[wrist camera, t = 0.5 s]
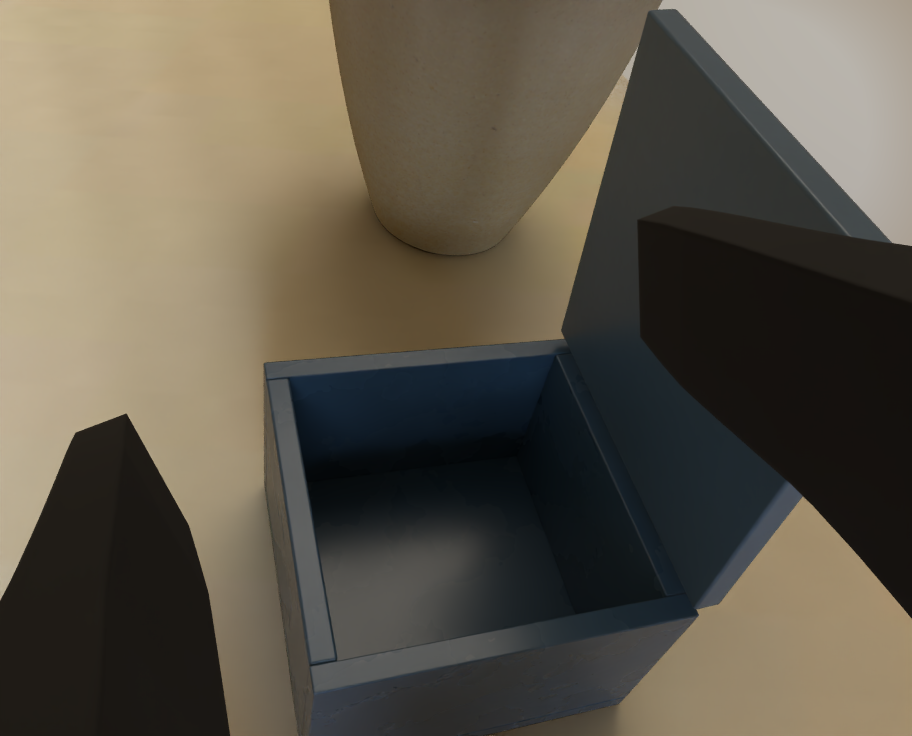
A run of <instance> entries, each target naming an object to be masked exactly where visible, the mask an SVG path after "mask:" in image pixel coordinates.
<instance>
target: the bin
mask: <svg viewBox="0 0 912 736" xmlns="http://www.w3.org/2000/svg"><path fill="white" fill-rule="evenodd" d="M264 485H265V492H266V500H267V507H268V515H269V522H270V529H271V537H272V544H273V552H274V559H275V567H276V574H277V582H278V589H279V597H280V604H281V612H282V619H283V627H284V634H285V642H286V649H287V657H288V664H289V672H290V679H291V686H292V694H293V701H294V709H295V716H296V724H297V731H298V736H485V735H489V734H493V733H497V732H502V731H506V730H510V729H514V728H519V727H523V726H527V725H531V724H536V723H540V722H544V721H548V720H553V719H557V718H561V717H565V716H570V715H574V714H578V713H582V712H587V711H591V710H595V709H599V708H604V707H608V706H612V705H616V704H619V703H620V702H621V701H622V700H623V699H624V698H625V697H626V696H627V695H628V694H629V693H630V692H631V691H632V689H633V688H634V687H635V686H636V685H637V684H638V683H639V682H640V681H641V679H642V678H643V677H644V676H645V675H646V674H647V673H648V672H649V671H650V669H651V668H652V667H653V666H654V665H655V664H656V663H657V662H658V661H659V659H660V658H661V657H662V656H663V655H664V654H665V653H666V652H667V651H668V649H669V648H670V647H671V646H672V645H673V644H674V643H675V642H676V641H677V639H678V638H679V637H680V636H681V635H682V634H683V633H684V632H685V631H686V629H687V628H688V627H689V626H690V625H691V624H692V623H693V622H694V621H695V619H696V618H697V617H698V616H699V614H698V612H697V610H696V609H694V608H693V606H692V604H691V602H690V600H689V598H688V596H687V594H686V592H685V589H684V587H683V585H682V583H681V581H680V579H679V577H678V575H677V573H676V571H675V568H674V566H673V564H672V562H671V560H670V558H669V556H668V554H667V552H666V550H665V548H664V545H663V543H662V541H661V539H660V537H659V535H658V533H657V531H656V529H655V527H654V524H653V522H652V520H651V518H650V516H649V514H648V512H647V510H646V508H645V506H644V504H643V501H642V499H641V497H640V495H639V493H638V491H637V489H636V487H635V485H634V483H633V480H632V478H631V476H630V474H629V472H628V470H627V468H626V466H625V464H624V462H623V460H622V457H621V455H620V453H619V451H618V449H617V447H616V445H615V443H614V441H613V439H612V436H611V434H610V432H609V430H608V428H607V426H606V424H605V422H604V420H603V418H602V416H601V413H600V411H599V409H598V407H597V405H596V403H595V401H594V399H593V397H592V395H591V392H590V390H589V388H588V386H587V384H586V382H585V380H584V378H583V376H582V374H581V372H580V369H579V367H578V365H577V363H576V361H575V359H574V357H573V355H572V353H571V351H570V348H569V346H568V344H567V342H566V340H565V339H559V340H546V341H533V342H520V343H508V344H495V345H482V346H470V347H457V348H444V349H432V350H419V351H406V352H394V353H381V354H368V355H356V356H343V357H330V358H317V359H305V360H292V361H279V362H267V363H264Z"/></svg>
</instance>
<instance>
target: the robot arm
mask: <svg viewBox="0 0 912 736" xmlns="http://www.w3.org/2000/svg"><path fill="white" fill-rule="evenodd" d="M637 232H638V271H639V311H640V337H641V339H642V340H643V341H644V342H645V344H646V345H647V346H648V347H649V349H650V350H651V351H652V352H653V354H654V355H655V356H656V357H657V359H658V360H659V361H660V362H661V364H662V365H663V366H664V367H665V368H666V370H667V371H668V372H669V373H670V374H671V375H672V376H673V378H674V379H675V380H676V381H677V382H678V383H679V384H680V386H681V387H683V388H684V389H685V390H686V391H687V392H688V393H689V394H690V395H691V396H692V397H693V398H694V399H695V400H697V401H698V402H699V403H700V404H701V405H702V406H703V407H704V408H705V409H707V410H708V411H709V412H710V413H711V414H712V415H713V416H714V417H715V418H716V419H718V420H719V421H720V422H721V423H722V424H723V425H724V426H725V427H727V428H728V429H729V430H730V431H731V432H732V433H733V434H735V435H736V436H737V437H738V438H739V439H740V440H741V441H742V442H744V443H745V444H746V445H747V446H748V447H749V448H750V449H751V450H753V451H754V452H755V453H756V454H757V455H758V456H759V457H761V458H762V459H763V460H764V461H765V462H766V463H767V464H768V465H770V466H771V467H772V468H773V469H774V470H775V471H776V472H778V473H779V474H780V475H781V476H782V477H783V478H784V479H785V480H787V481H788V482H789V483H790V484H791V485H792V486H793V487H794V488H795V489H796V490H797V491H798V492H799V493H800V494H801V495H802V496H803V497H804V498H805V499H806V500H807V501H809V502H810V503H811V504H812V505H813V506H814V507H815V509H816V510H817V511H818V512H819V513H820V514H821V515H822V516H823V517H824V518H825V519H826V521H827V522H828V523H829V524H830V525H831V526H832V527H833V528H834V529H835V530H836V532H837V533H838V534H839V535H840V536H841V537H842V538H843V539H844V540H845V541H846V543H847V544H848V545H849V546H850V547H851V548H852V549H853V550H854V551H855V552H856V554H857V555H858V556H859V557H860V558H861V559H862V560H863V562H864V563H865V564H866V565H867V566H868V567H869V569H870V570H871V571H872V572H873V573H874V575H875V576H876V577H877V578H878V579H879V580H880V582H881V583H882V584H883V585H884V586H885V587H886V589H887V590H888V591H889V592H890V593H891V594H892V596H893V597H894V598H895V599H896V600H897V602H898V603H899V604H900V605H901V606H902V607H903V609H904V610H905V611H906V612H907V613H908V615H909V616H910V617H911V618H912V246H908V245H901V244H894V243H887V242H881V241H874V240H867V239H861V238H856V237H850V236H844V235H838V234H833V233H828V232H822V231H817V230H812V229H806V228H801V227H796V226H791V225H786V224H781V223H776V222H771V221H766V220H761V219H755V218H750V217H745V216H740V215H735V214H729V213H724V212H718V211H712V210H706V209H699V208H692V207H682V206H672V207H670V208H667V209H664V210H662V211H659V212H656V213H654V214H651V215H648V216H646V217H643V218H641V219H638V220H637ZM0 736H230V731H229V725H228V718H227V711H226V704H225V698H224V691H223V684H222V678H221V671H220V664H219V657H218V651H217V644H216V638H215V631H214V625H213V618H212V612H211V605H210V599H209V593H208V590H207V586H206V583H205V579H204V575H203V572H202V568H201V565H200V561H199V558H198V555H197V551H196V548H195V544H194V541H193V538H192V534H191V531H190V528H189V525H188V523H187V521H186V520H185V518H184V516H183V514H182V512H181V511H180V509H179V507H178V505H177V503H176V502H175V500H174V498H173V496H172V494H171V493H170V491H169V489H168V487H167V485H166V484H165V482H164V480H163V478H162V476H161V475H160V473H159V471H158V469H157V467H156V466H155V464H154V462H153V460H152V458H151V457H150V455H149V453H148V451H147V449H146V448H145V446H144V444H143V442H142V440H141V439H140V437H139V435H138V433H137V431H136V430H135V428H134V426H133V424H132V422H131V421H130V419H129V417H128V415H127V413H126V414H124V415H121V416H119V417H116V418H113V419H111V420H108V421H105V422H103V423H100V424H97V425H95V426H92V427H90V428H87V429H84V430H82V431H79V432H76V433H75V435H74V437H73V439H72V441H71V443H70V445H69V447H68V450H67V452H66V454H65V457H64V459H63V462H62V464H61V467H60V469H59V472H58V474H57V476H56V479H55V481H54V484H53V486H52V489H51V491H50V494H49V496H48V498H47V501H46V503H45V505H44V508H43V510H42V513H41V515H40V517H39V520H38V522H37V524H36V526H35V529H34V531H33V533H32V535H31V537H30V540H29V542H28V544H27V546H26V548H25V551H24V553H23V555H22V557H21V559H20V562H19V564H18V566H17V568H16V570H15V572H14V575H13V577H12V579H11V581H10V583H9V585H8V587H7V589H6V591H5V593H4V595H3V596H2V598H1V600H0Z"/></svg>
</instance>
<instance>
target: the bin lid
mask: <svg viewBox="0 0 912 736" xmlns="http://www.w3.org/2000/svg"><path fill="white" fill-rule="evenodd" d="M672 206H682V207H692V208H699V209H706V210H712V211H718V212H724V213H729V214H735V215H740V216H745V217H750V218H755V219H761V220H766V221H771V222H776V223H781V224H786V225H791V226H796V227H801V228H806V229H812V230H817V231H822V232H828V233H833V234H838V235H844V236H850V237H856V238H861V239H867V240H874V241H881V242H887V243H892V242H891V241H890V240H889V239H888V238H887V237H886V236H885V235H884V234H883V233H882V232H881V230H880V229H879V228H878V227H877V226H876V225H875V224H874V223H873V222H872V221H871V220H870V218H869V217H868V216H867V215H866V214H865V213H864V212H863V211H862V210H861V209H860V208H859V207H858V205H857V204H856V203H855V202H854V201H853V200H852V199H851V198H850V197H849V196H848V195H847V193H846V192H844V190H843V189H842V188H841V187H840V186H839V185H838V184H837V183H836V182H835V180H834V179H833V178H832V177H831V176H830V175H829V174H828V173H827V172H826V171H825V170H824V169H823V168H822V166H821V165H820V164H819V163H818V162H817V161H816V160H815V159H814V158H813V157H812V156H811V155H810V154H809V152H807V150H806V149H805V148H804V147H803V146H802V145H801V144H800V143H799V142H798V140H797V139H796V138H795V137H794V136H793V135H792V134H791V133H790V132H789V131H788V130H787V129H786V127H785V126H784V125H783V124H782V123H781V122H780V121H779V120H778V119H777V118H776V117H775V116H774V114H773V113H772V112H771V111H770V110H769V109H768V108H767V107H766V106H765V105H764V104H763V103H762V101H761V100H760V99H759V98H758V97H757V96H756V95H755V94H754V93H753V92H752V91H751V90H750V88H749V87H748V86H747V85H746V84H745V83H744V82H743V81H742V80H741V79H740V78H739V77H738V75H737V74H736V73H735V72H734V71H733V70H732V69H731V68H730V67H729V66H728V65H727V64H726V63H725V61H724V60H723V59H722V58H721V57H720V56H719V55H718V54H717V53H716V52H715V51H714V50H713V48H712V47H711V46H710V45H709V44H708V43H707V42H706V41H705V40H704V39H703V38H702V37H701V35H700V34H699V33H698V32H697V31H696V30H695V29H694V28H693V27H692V26H691V25H690V24H689V23H688V21H687V20H686V19H685V18H684V17H683V16H682V15H681V14H680V13H679V12H678V11H677V10H675V9H666V10H650V11H648V13H647V17H646V21H645V24H644V28H643V32H642V35H641V39H640V43H639V46H638V50H637V54H636V57H635V61H634V65H633V68H632V72H631V76H630V79H629V83H628V87H627V90H626V94H625V98H624V101H623V105H622V109H621V112H620V116H619V120H618V123H617V127H616V131H615V134H614V138H613V142H612V145H611V149H610V153H609V156H608V160H607V164H606V167H605V171H604V175H603V178H602V182H601V186H600V189H599V193H598V197H597V200H596V204H595V208H594V211H593V215H592V219H591V222H590V226H589V230H588V233H587V237H586V241H585V244H584V248H583V252H582V255H581V259H580V263H579V266H578V270H577V274H576V277H575V281H574V285H573V288H572V292H571V296H570V299H569V303H568V307H567V310H566V314H565V318H564V321H563V325H562V329H561V332H562V334H563V336H564V338H565V340H566V342H567V344H568V346H569V348H570V351H571V353H572V355H573V357H574V359H575V361H576V363H577V365H578V367H579V369H580V372H581V374H582V376H583V378H584V380H585V382H586V384H587V386H588V388H589V390H590V392H591V395H592V397H593V399H594V401H595V403H596V405H597V407H598V409H599V411H600V413H601V416H602V418H603V420H604V422H605V424H606V426H607V428H608V430H609V432H610V434H611V436H612V439H613V441H614V443H615V445H616V447H617V449H618V451H619V453H620V455H621V457H622V460H623V462H624V464H625V466H626V468H627V470H628V472H629V474H630V476H631V478H632V480H633V483H634V485H635V487H636V489H637V491H638V493H639V495H640V497H641V499H642V501H643V504H644V506H645V508H646V510H647V512H648V514H649V516H650V518H651V520H652V522H653V524H654V527H655V529H656V531H657V533H658V535H659V537H660V539H661V541H662V543H663V545H664V548H665V550H666V552H667V554H668V556H669V558H670V560H671V562H672V564H673V566H674V568H675V571H676V573H677V575H678V577H679V579H680V581H681V583H682V585H683V587H684V589H685V592H686V594H687V596H688V598H689V600H690V602H691V604H692V606H693V608H694V609H700V608H704V607H709V606H713V605H717V604H719V603H720V602H721V601H722V599H723V598H724V597H725V596H726V594H727V593H728V592H729V590H730V589H731V588H732V587H733V585H734V584H735V583H736V581H737V580H738V579H739V578H740V576H741V575H742V574H743V572H744V571H745V570H746V569H747V567H748V566H749V565H750V563H751V562H752V561H753V560H754V558H755V557H756V556H757V554H758V553H759V552H760V551H761V549H762V548H763V547H764V546H765V544H766V543H767V542H768V540H769V539H770V538H771V537H772V535H773V534H774V533H775V531H776V530H777V529H778V528H779V526H780V525H781V524H782V522H783V521H784V520H785V519H786V517H787V516H788V515H789V513H790V512H791V511H792V510H793V508H794V507H795V506H796V504H797V503H798V502H799V501H800V499H801V498H802V497H803V496H802V495H801V494H800V493H799V492H798V491H797V490H796V489H795V488H794V487H793V486H792V485H791V484H790V483H789V482H788V481H787V480H785V479H784V478H783V477H782V476H781V475H780V474H779V473H778V472H776V471H775V470H774V469H773V468H772V467H771V466H770V465H768V464H767V463H766V462H765V461H764V460H763V459H762V458H761V457H759V456H758V455H757V454H756V453H755V452H754V451H753V450H751V449H750V448H749V447H748V446H747V445H746V444H745V443H744V442H742V441H741V440H740V439H739V438H738V437H737V436H736V435H735V434H733V433H732V432H731V431H730V430H729V429H728V428H727V427H725V426H724V425H723V424H722V423H721V422H720V421H719V420H718V419H716V418H715V417H714V416H713V415H712V414H711V413H710V412H709V411H708V410H707V409H705V408H704V407H703V406H702V405H701V404H700V403H699V402H698V401H697V400H695V399H694V398H693V397H692V396H691V395H690V394H689V393H688V392H687V391H686V390H685V389H684V388H683V387H681V386H680V384H679V383H678V382H677V381H676V380H675V379H674V378H673V376H672V375H671V374H670V373H669V372H668V371H667V370H666V368H665V367H664V366H663V365H662V364H661V362H660V361H659V360H658V359H657V357H656V356H655V355H654V354H653V352H652V351H651V350H650V349H649V347H648V346H647V345H646V344H645V342H644V341H643V340H642V339H641V337H640V311H639V271H638V232H637V220H638V219H641V218H643V217H646V216H648V215H651V214H654V213H656V212H659V211H662V210H664V209H667V208H670V207H672Z"/></svg>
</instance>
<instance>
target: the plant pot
mask: <svg viewBox="0 0 912 736" xmlns="http://www.w3.org/2000/svg"><path fill="white" fill-rule="evenodd" d="M661 2H662V0H329V3H330V11H331V18H332V25H333V32H334V39H335V45H336V51H337V57H338V63H339V69H340V75H341V80H342V85H343V91H344V96H345V101H346V106H347V111H348V115H349V120H350V124H351V129H352V133H353V137H354V142H355V146H356V150H357V153H358V157H359V161H360V164H361V168H362V172H363V175H364V179H365V182H366V185H367V189H368V192H369V195H370V198H371V201H372V204H373V208H374V211H375V213H376V215H377V217H378V219H379V221H380V222H381V223H382V225H383V226H384V227H385V228H386V229H387V230H388V231H389V232H390V233H391V234H393V235H394V236H395V237H397V238H398V239H400V240H402V241H403V242H405V243H407V244H409V245H411V246H414V247H416V248H419V249H422V250H424V251H428V252H432V253H437V254H445V255H468V254H474V253H478V252H482V251H485V250H487V249H489V248H491V247H493V246H495V245H496V244H498V243H499V242H500V241H501V240H502V239H503V238H504V237H505V236H506V235H507V233H508V232H509V231H510V230H511V229H512V228H513V227H514V225H515V224H516V223H517V222H518V221H519V220H520V219H521V217H522V216H523V215H524V214H525V213H526V212H527V210H528V209H529V208H530V207H531V205H532V204H533V203H534V202H535V200H536V199H537V198H538V197H539V195H540V194H541V193H542V192H543V190H544V189H545V188H546V187H547V185H548V184H549V183H550V181H551V180H552V179H553V177H554V176H555V175H556V173H557V172H558V171H559V169H560V168H561V167H562V165H563V164H564V162H565V161H566V160H567V158H568V157H569V156H570V154H571V153H572V151H573V150H574V148H575V147H576V145H577V144H578V142H579V141H580V140H581V138H582V137H583V135H584V134H585V132H586V131H587V129H588V128H589V126H590V125H591V123H592V122H593V120H594V119H595V117H596V115H597V114H598V112H599V111H600V109H601V108H602V106H603V105H604V103H605V101H606V100H607V98H608V96H609V95H610V93H611V91H612V90H613V88H614V86H615V85H616V83H617V81H618V80H619V78H620V76H621V75H622V73H623V71H624V70H625V68H626V66H627V64H628V63H629V61H630V59H631V57H632V56H633V54H634V52H635V51H636V49H637V47H638V45H639V43H640V39H641V35H642V32H643V28H644V24H645V21H646V17H647V13H648V11H650V10H658V8H659V6H660V4H661Z"/></svg>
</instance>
